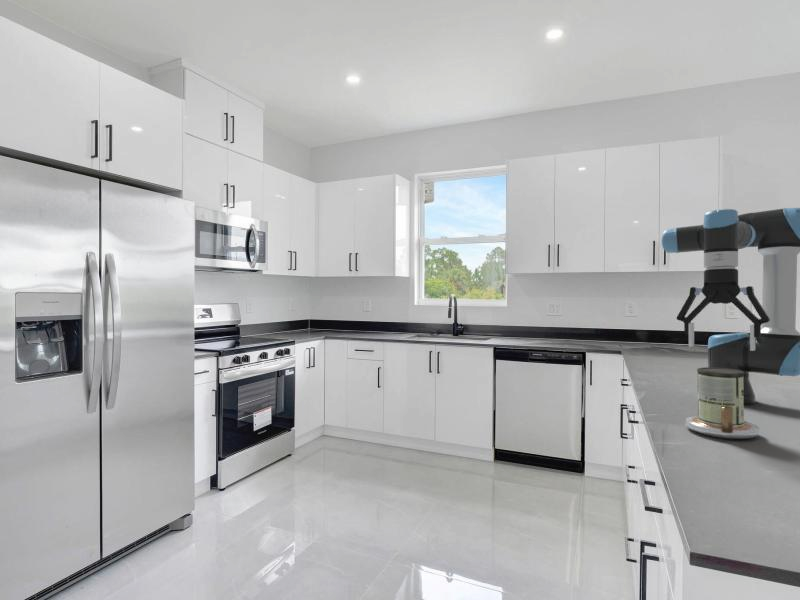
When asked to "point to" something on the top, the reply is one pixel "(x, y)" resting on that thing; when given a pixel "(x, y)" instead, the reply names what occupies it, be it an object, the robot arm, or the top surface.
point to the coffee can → (720, 395)
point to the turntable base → (724, 437)
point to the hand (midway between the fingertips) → (720, 348)
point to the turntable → (724, 426)
